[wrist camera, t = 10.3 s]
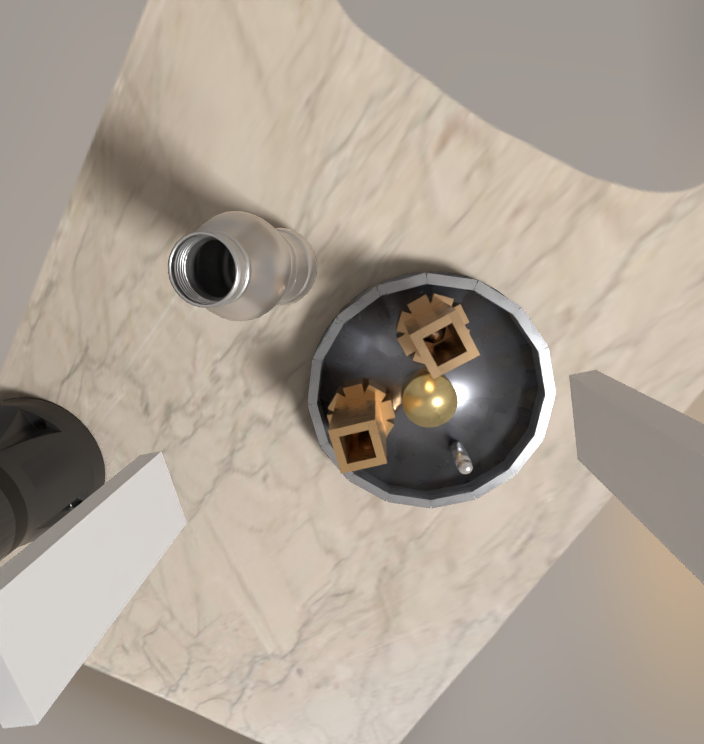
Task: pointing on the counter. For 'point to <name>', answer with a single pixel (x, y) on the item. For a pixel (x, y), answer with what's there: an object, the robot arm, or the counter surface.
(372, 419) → the hollow wooden square post
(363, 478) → the bowl
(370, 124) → the counter surface
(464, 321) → the tan square tube
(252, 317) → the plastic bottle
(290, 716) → the counter surface
